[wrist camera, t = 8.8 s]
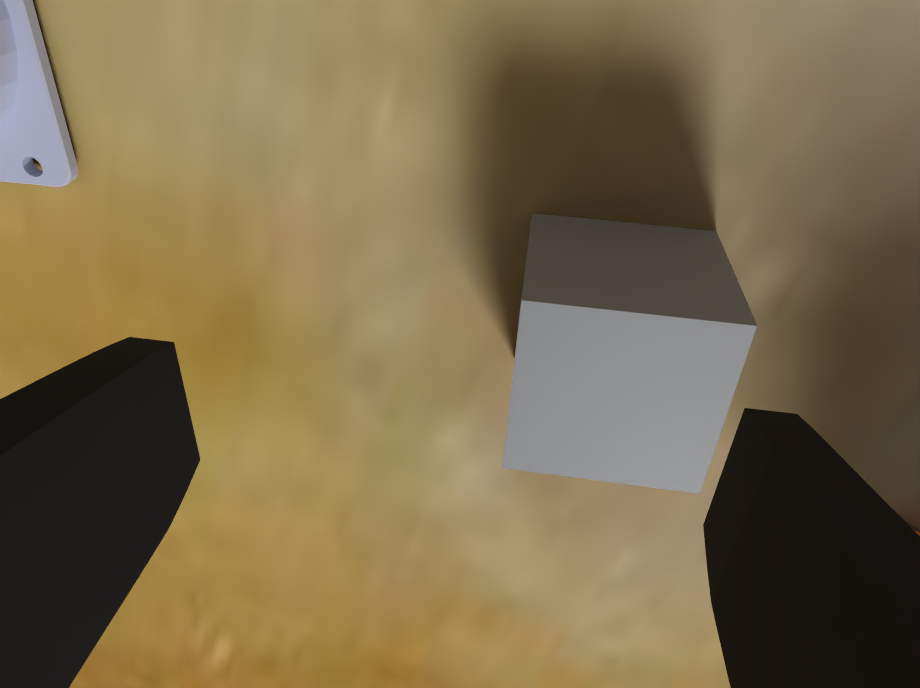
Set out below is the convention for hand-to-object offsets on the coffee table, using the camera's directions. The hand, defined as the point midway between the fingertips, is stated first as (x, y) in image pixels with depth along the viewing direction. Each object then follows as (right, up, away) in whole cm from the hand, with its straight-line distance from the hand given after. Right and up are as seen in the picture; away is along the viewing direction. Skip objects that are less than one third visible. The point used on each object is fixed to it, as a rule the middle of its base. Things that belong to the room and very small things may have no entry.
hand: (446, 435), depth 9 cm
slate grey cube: (+4, +2, +9) cm, 10 cm away
